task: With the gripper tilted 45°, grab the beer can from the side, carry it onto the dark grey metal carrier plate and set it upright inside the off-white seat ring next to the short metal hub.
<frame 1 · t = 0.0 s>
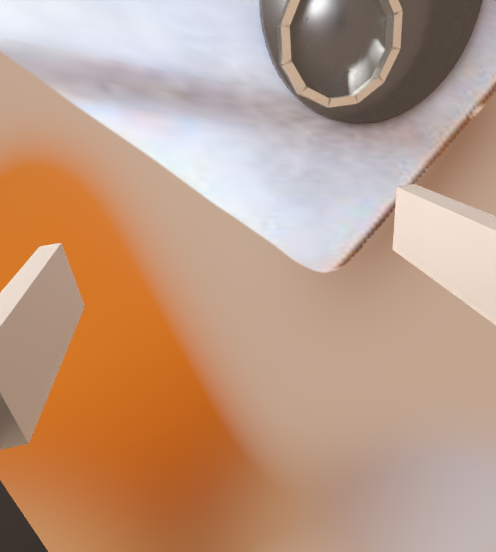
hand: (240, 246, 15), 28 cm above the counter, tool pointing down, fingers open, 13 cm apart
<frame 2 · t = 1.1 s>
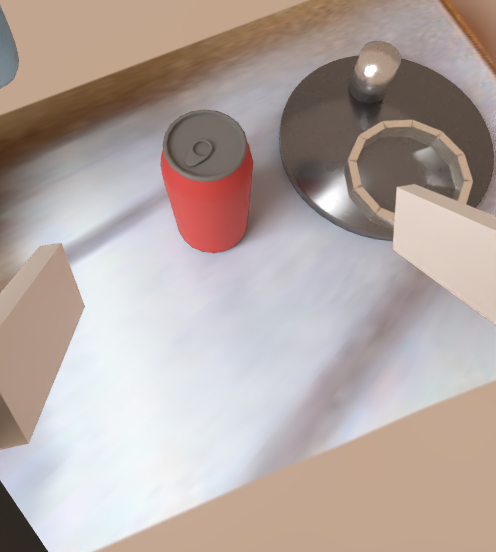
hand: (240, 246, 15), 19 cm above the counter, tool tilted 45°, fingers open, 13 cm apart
carrier plate: (382, 145, 40), on the counter
beer can: (213, 224, 36), on the counter
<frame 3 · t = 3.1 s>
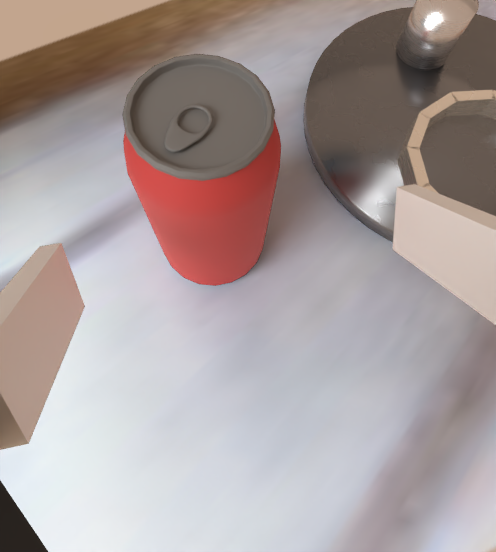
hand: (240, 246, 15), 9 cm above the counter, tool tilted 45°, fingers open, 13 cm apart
carrier plate: (446, 127, 29), on the counter
beer can: (213, 242, 25), on the counter
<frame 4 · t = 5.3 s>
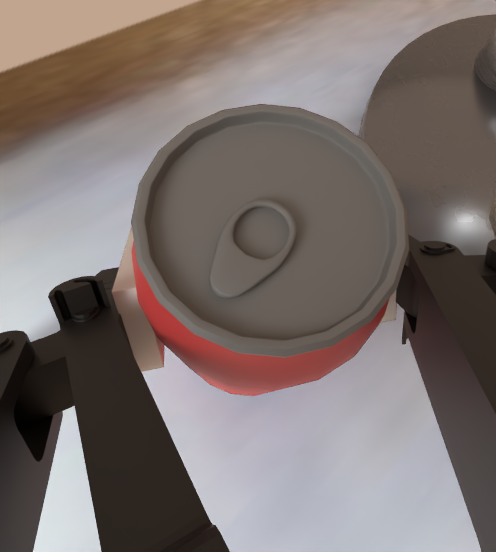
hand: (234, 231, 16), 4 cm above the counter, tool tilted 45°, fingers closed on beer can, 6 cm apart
beer can: (247, 327, 19), on the counter, touching gripper
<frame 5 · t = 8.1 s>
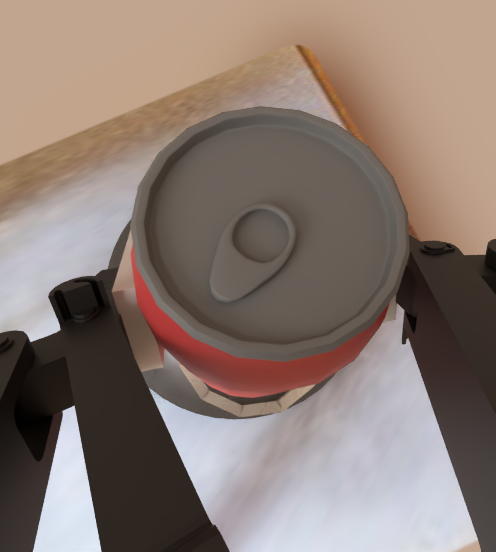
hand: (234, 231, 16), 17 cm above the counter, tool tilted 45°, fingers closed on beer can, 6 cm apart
carrier plate: (236, 285, 33), on the counter
beer can: (247, 329, 19), point 13 cm above the counter, touching gripper
when the fingers open (6 cm above the counter, at t = 11.0 s): beer can drops 1 cm, resting on carrier plate.
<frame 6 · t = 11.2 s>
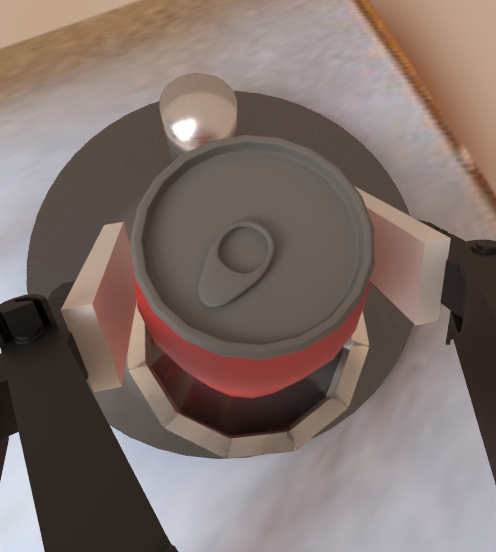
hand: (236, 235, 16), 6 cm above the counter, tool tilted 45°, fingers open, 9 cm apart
carrier plate: (228, 253, 23), on the counter
beer can: (247, 333, 20), point 1 cm above the counter, touching carrier plate
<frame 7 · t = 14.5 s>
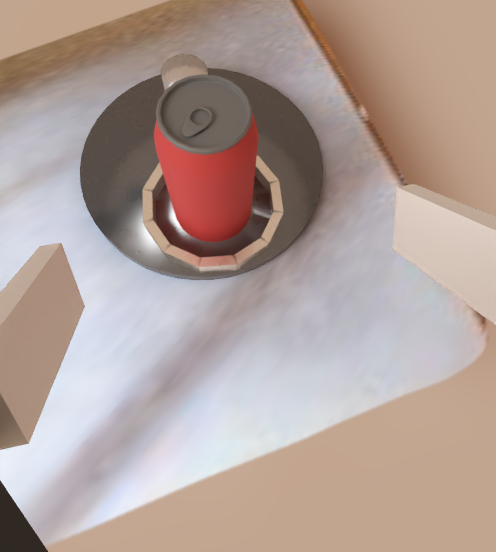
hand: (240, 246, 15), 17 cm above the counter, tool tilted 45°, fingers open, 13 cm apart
carrier plate: (204, 169, 36), on the counter
beer can: (213, 211, 33), point 1 cm above the counter, touching carrier plate
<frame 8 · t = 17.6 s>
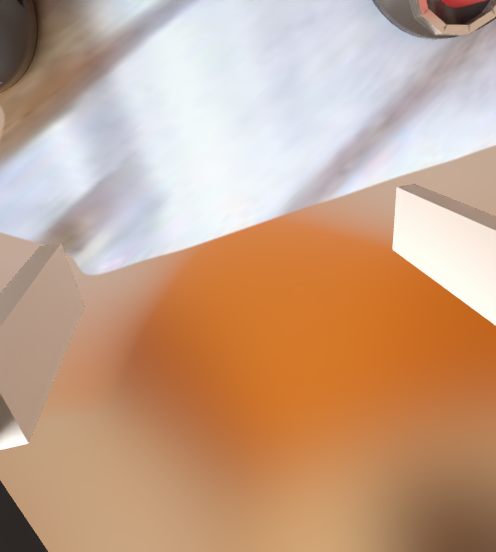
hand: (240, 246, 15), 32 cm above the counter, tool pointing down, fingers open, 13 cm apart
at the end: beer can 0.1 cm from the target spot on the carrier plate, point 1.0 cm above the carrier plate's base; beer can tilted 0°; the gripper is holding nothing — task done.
